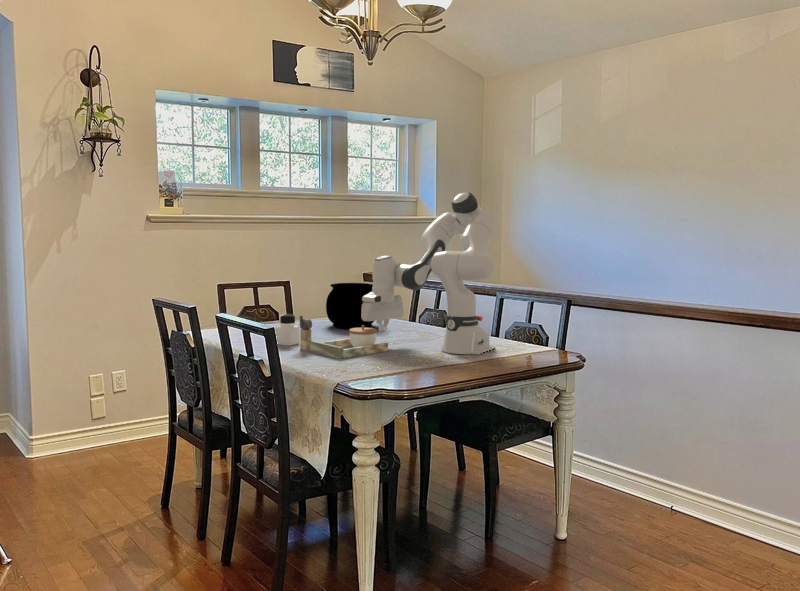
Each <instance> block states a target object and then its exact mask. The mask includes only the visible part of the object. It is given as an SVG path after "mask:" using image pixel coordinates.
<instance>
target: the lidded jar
mask: <svg viewBox="0 0 800 591" xmlns="http://www.w3.org/2000/svg"><path fill="white" fill-rule="evenodd" d="M348 332H349V338H350V342H351V344H352V346H351V347H352V348H354V347H361V346H367V345H373V344H376V341H377V332H378V330H377V328H373V327H370V328H364V325H362V328H352V329H348Z"/></svg>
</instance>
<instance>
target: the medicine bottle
mask: <svg viewBox="0 0 800 591" xmlns="http://www.w3.org/2000/svg"><path fill="white" fill-rule="evenodd" d="M275 331H276V336H277V342H278V345H279V346H288V347H290V346H291V347H292V346H295V345H298V344H300V325H296V316H295V315H294V314H292V313H285V314H284V313H283V314H281V315H280V316H279V325H278V326H276V327H275V328H274V332H275ZM278 345H277V346H278Z"/></svg>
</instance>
